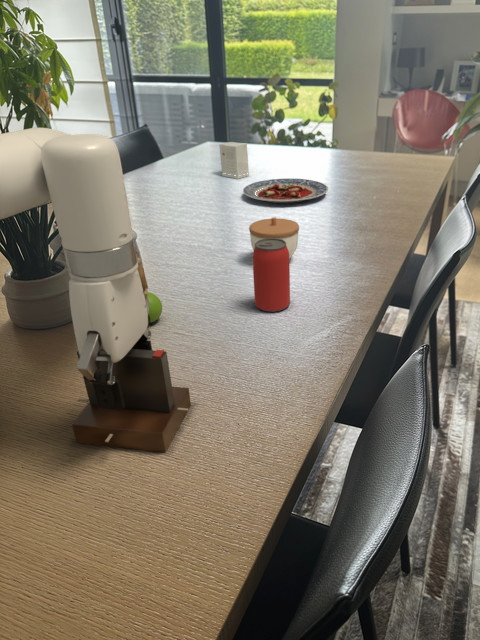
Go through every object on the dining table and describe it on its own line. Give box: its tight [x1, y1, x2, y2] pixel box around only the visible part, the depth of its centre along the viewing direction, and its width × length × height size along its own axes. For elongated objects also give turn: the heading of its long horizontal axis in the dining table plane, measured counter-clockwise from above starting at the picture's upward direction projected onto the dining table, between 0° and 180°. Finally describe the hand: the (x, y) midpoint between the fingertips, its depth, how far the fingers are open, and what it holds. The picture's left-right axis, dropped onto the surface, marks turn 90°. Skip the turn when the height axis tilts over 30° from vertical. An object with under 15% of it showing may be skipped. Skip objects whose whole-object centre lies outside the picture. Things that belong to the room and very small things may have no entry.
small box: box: [218, 141, 250, 180], centre depth 188 cm, size 8×6×10 cm
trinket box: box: [248, 217, 300, 259], centre depth 120 cm, size 11×11×9 cm
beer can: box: [251, 238, 291, 313], centre depth 99 cm, size 7×7×12 cm
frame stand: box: [71, 386, 192, 453], centre depth 72 cm, size 15×15×3 cm
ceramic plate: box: [242, 178, 329, 204], centre depth 167 cm, size 26×26×3 cm
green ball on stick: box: [136, 249, 163, 324], centre depth 96 cm, size 5×6×12 cm
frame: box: [76, 349, 175, 413], centre depth 69 cm, size 11×2×8 cm, turn 79°
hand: (128, 386), depth 70 cm, fingers open, 9 cm apart
